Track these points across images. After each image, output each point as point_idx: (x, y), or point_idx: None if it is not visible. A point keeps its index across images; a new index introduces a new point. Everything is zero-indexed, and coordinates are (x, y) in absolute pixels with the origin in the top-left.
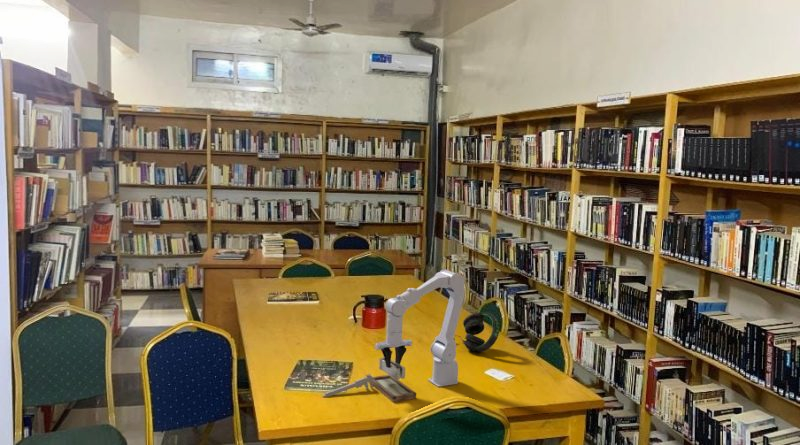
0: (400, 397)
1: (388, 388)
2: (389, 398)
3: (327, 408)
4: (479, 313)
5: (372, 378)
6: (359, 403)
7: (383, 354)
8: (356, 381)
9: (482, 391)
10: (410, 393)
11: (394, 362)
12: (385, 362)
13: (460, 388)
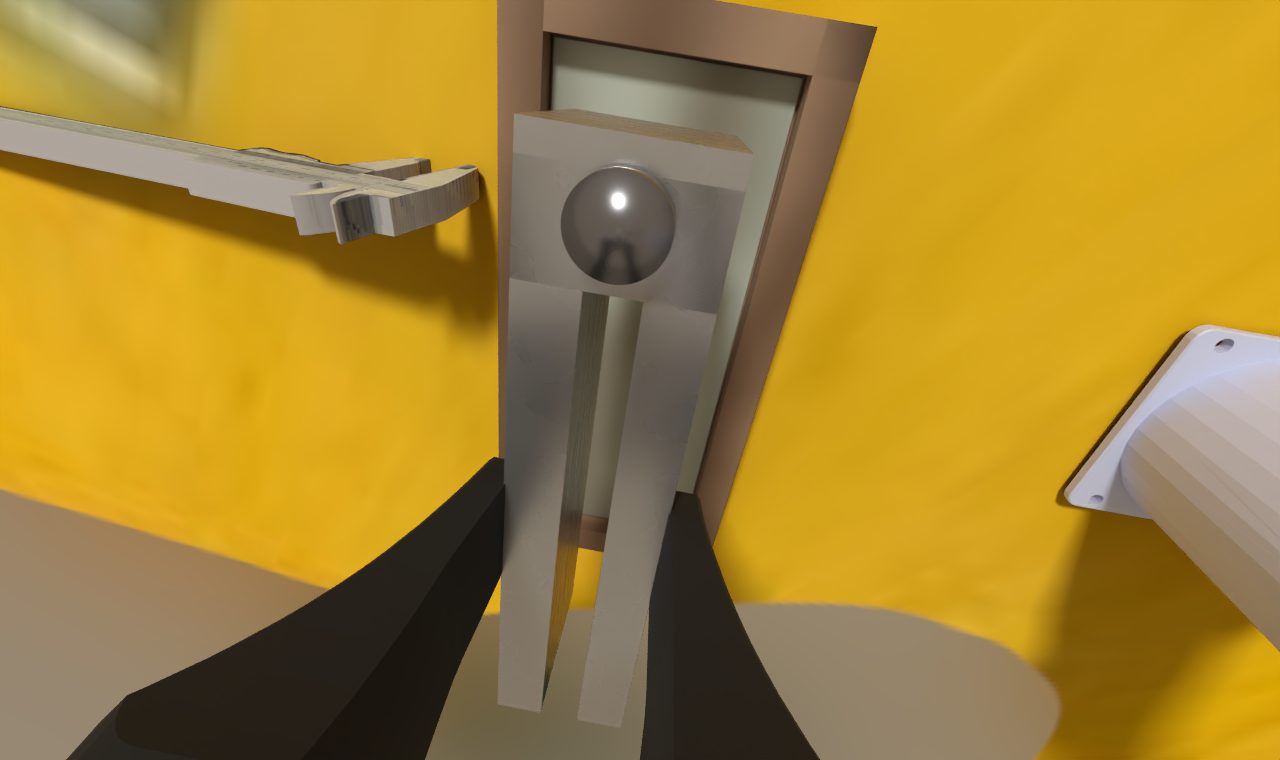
0: None
1: None
2: None
3: (11, 347)
4: None
5: (417, 228)
6: (266, 397)
7: (311, 619)
8: (196, 188)
9: (1222, 681)
10: None
11: (640, 523)
12: (457, 492)
13: (1173, 587)
